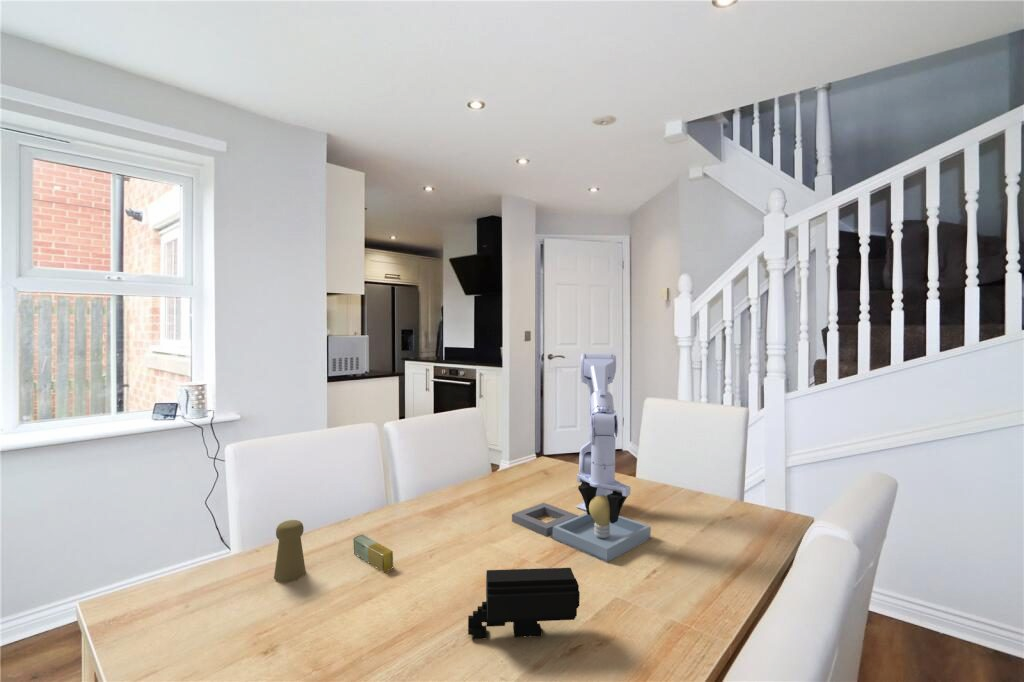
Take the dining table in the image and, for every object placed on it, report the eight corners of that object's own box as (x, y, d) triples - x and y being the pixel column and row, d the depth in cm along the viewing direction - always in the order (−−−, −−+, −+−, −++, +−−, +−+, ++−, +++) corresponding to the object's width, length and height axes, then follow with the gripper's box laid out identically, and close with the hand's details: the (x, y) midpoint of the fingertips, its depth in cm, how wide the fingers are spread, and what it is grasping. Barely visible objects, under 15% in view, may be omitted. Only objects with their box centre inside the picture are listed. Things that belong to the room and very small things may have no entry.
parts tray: (597, 519, 132) (597, 508, 132) (650, 538, 120) (650, 526, 120) (552, 538, 119) (552, 526, 119) (606, 562, 108) (607, 549, 108)
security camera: (468, 622, 86) (468, 566, 85) (572, 618, 87) (573, 563, 87) (468, 648, 79) (468, 587, 79) (580, 643, 80) (581, 583, 80)
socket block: (543, 509, 138) (543, 502, 138) (578, 522, 129) (578, 515, 129) (511, 521, 130) (512, 514, 130) (546, 536, 121) (546, 528, 121)
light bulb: (615, 532, 122) (616, 492, 122) (614, 543, 116) (615, 501, 115) (590, 529, 124) (590, 490, 123) (587, 540, 117) (587, 499, 117)
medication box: (352, 554, 111) (352, 537, 110) (363, 550, 113) (363, 533, 112) (383, 573, 103) (383, 554, 102) (394, 568, 105) (393, 550, 104)
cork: (312, 570, 103) (312, 518, 103) (290, 584, 97) (290, 530, 97) (289, 565, 105) (289, 514, 105) (266, 579, 99) (266, 525, 99)
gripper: (569, 459, 122) (568, 513, 122) (618, 472, 111) (617, 531, 112) (587, 454, 127) (586, 506, 127) (635, 466, 116) (634, 523, 116)
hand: (602, 517), depth 120 cm, fingers open, 6 cm apart
